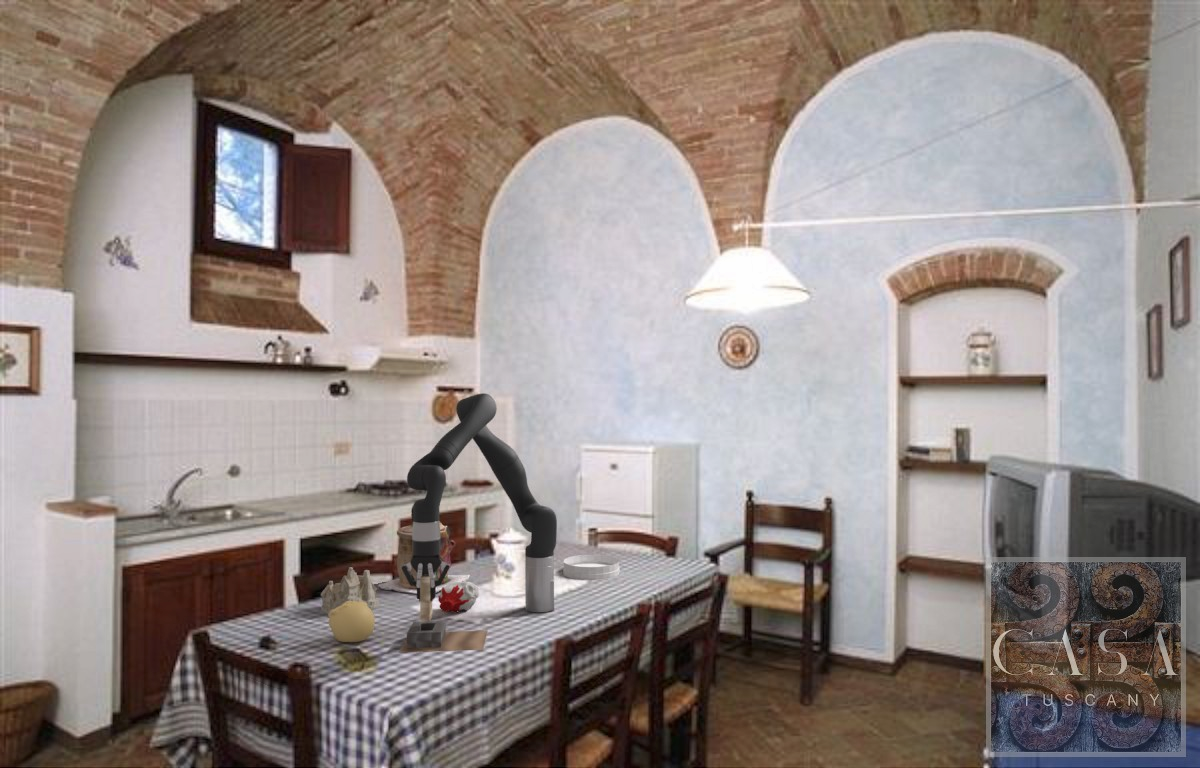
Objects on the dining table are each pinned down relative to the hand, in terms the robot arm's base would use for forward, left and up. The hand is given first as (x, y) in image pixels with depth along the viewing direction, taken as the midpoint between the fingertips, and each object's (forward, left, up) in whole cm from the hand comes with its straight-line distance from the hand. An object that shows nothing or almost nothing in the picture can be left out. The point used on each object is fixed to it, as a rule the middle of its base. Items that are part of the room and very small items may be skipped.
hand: (426, 600), depth 203 cm
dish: (-51, -80, -13) cm, 96 cm away
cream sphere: (+22, -8, -13) cm, 27 cm away
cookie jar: (+11, -68, -13) cm, 70 cm away
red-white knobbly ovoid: (-4, -33, -13) cm, 36 cm away
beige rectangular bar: (0, 0, -5) cm, 5 cm away
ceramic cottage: (+30, -40, -13) cm, 52 cm away
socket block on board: (-5, 0, -13) cm, 14 cm away
